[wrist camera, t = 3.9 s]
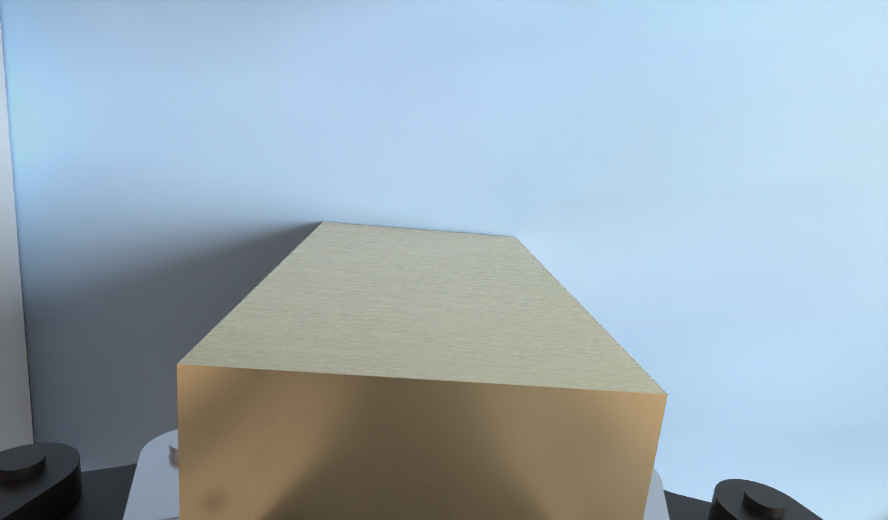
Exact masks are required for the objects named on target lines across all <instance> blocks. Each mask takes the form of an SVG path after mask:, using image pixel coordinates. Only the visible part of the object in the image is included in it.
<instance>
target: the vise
mask: <svg viewBox="0 0 888 520" xmlns="http://www.w3.org/2000/svg"><path fill="white" fill-rule="evenodd" d="M28 444H34V440H33V427H32V414H31V402H30V389H29V377H28V364H27V351H26V339H25V326H24V313H23V301H22V288H21V276H20V263H19V250H18V238H17V225H16V212H15V200H14V187H13V175H12V162H11V149H10V137H9V124H8V111H7V99H6V86H5V73H4V61H3V48H2V36H1V23H0V452H1V451H4V450H7V449H10V448H14V447H18V446H23V445H28Z"/></svg>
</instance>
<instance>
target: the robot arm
mask: <svg viewBox="0 0 888 520" xmlns="http://www.w3.org/2000/svg"><path fill="white" fill-rule="evenodd" d="M0 520H179V463H178V429H176V430H173V431H169V432H167V433H164V434H162V435H160V436H158V437H156V438H154V439H153V440H151V441H150V442H149V443H147V444H146V445H145V446H144V448H143V449H142V450H141V453H140V455H139V459H138V463H136V464H132V465H127V466H122V467H115V468H107V469H100V470H93V471H85V472H81V468H80V455H79V453H78V451H77V450H76V449H74V448H72V447H71V446H68V445H65V444H59V443H36V444H28V445H23V446H18V447H14V448H10V449H7V450H4V451H1V452H0ZM643 520H823V519H821V518H820V517H818V516H817V515H815V514H814V513H813V512H811V511H810V510H808V509H807V508H806V507H804V506H803V505H801V504H800V503H798V502H797V501H796V500H794V499H792V498H791V497H789V496H788V495H786V494H784V493H782V492H780V491H778V490H776V489H774V488H772V487H769V486H766V485H764V484H761V483H757V482H753V481H749V480H742V479H728V480H724V481H721V482H719V483H718V484H717V485H716V487H715V490H714V494H713V498H712V503H710V502H706V501H702V500H698V499H694V498H690V497H686V496H682V495H678V494H675V493H671V492H668V491H666V490H663V486H662V481H661V478H660V476H659V474H658V473H657V471H656V470H655V469H654V468H653V471H652V476H651V481H650V486H649V491H648V496H647V501H646V506H645V512H644V517H643Z"/></svg>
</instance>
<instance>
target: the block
mask: <svg viewBox="0 0 888 520" xmlns="http://www.w3.org/2000/svg"><path fill="white" fill-rule="evenodd" d="M667 395H668V394H667V393H666V392H665V391H664V390H663V389H662V388H661V387H660V386H659V385H658V384H657V383H656V382H655V381H654V380H653V379H652V378H651V377H650V376H649V375H648V373H647V372H646V371H645V370H644V369H643V368H642V367H641V366H640V365H639V364H638V363H637V362H636V361H635V360H634V359H633V358H632V357H631V356H630V355H629V354H628V353H627V352H626V351H625V350H624V349H623V348H622V347H621V346H620V345H619V343H618V342H617V341H616V340H615V339H614V338H613V337H612V336H611V335H610V334H609V333H608V332H607V331H606V330H605V329H604V328H603V327H602V326H601V325H600V324H599V323H598V322H597V321H596V320H595V319H594V318H593V317H592V316H591V315H590V314H589V312H588V311H587V310H586V309H585V308H584V307H583V306H582V305H581V304H580V303H579V302H578V301H577V300H576V299H575V298H574V297H573V296H572V295H571V294H570V293H569V292H568V291H567V290H566V289H565V288H564V287H563V286H562V285H561V284H560V282H559V281H558V280H557V279H556V278H555V277H554V276H553V275H552V274H551V273H550V272H549V271H548V270H547V269H546V268H545V267H544V266H543V265H542V264H541V263H540V262H539V261H538V260H537V259H536V258H535V257H534V256H533V255H532V254H531V252H530V251H529V250H528V249H527V248H526V247H525V246H524V245H523V244H522V243H521V242H520V241H519V240H518V239H517V238H516V237H508V236H495V235H483V234H471V233H458V232H446V231H434V230H421V229H409V228H397V227H384V226H372V225H360V224H347V223H335V222H322V223H321V224H320V225H319V226H318V227H317V228H316V229H315V230H314V231H313V232H312V233H311V234H310V235H309V236H308V237H307V238H306V239H305V240H304V241H303V242H301V243H300V244H299V245H298V246H297V247H296V248H295V249H294V250H293V251H292V252H291V253H290V254H289V255H288V256H287V257H286V258H285V259H284V260H283V261H282V262H281V263H280V264H279V265H278V266H277V267H276V268H275V269H274V270H273V271H272V272H271V273H270V274H269V275H268V276H267V277H266V278H265V279H264V280H262V281H261V282H260V283H259V284H258V285H257V286H256V287H255V288H254V289H253V290H252V291H251V292H250V293H249V294H248V295H247V296H246V297H245V298H244V299H243V300H242V301H241V302H240V303H239V304H238V305H237V306H236V307H235V308H234V309H233V310H232V311H231V312H230V313H229V314H228V315H227V316H226V317H225V318H223V319H222V320H221V321H220V322H219V323H218V324H217V325H216V326H215V327H214V328H213V329H212V330H211V331H210V332H209V333H208V334H207V335H206V336H205V337H204V338H203V339H202V340H201V341H200V342H199V343H198V344H197V345H196V346H195V347H194V348H193V349H192V350H191V351H190V352H189V353H188V354H187V355H186V356H184V357H183V358H182V359H181V360H180V361H179V362H178V363H177V406H178V463H179V520H643V517H644V512H645V506H646V501H647V496H648V491H649V486H650V481H651V476H652V471H653V466H654V461H655V456H656V451H657V446H658V440H659V435H660V430H661V425H662V420H663V415H664V410H665V405H666V400H667Z"/></svg>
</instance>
